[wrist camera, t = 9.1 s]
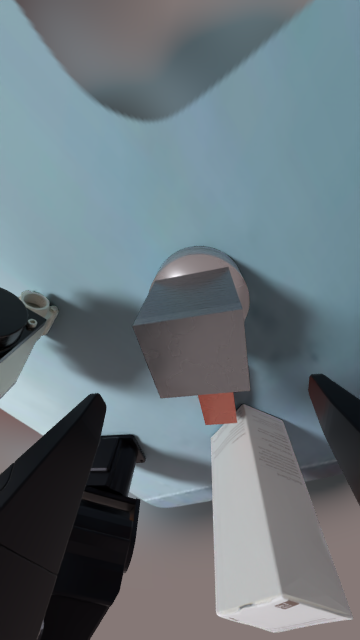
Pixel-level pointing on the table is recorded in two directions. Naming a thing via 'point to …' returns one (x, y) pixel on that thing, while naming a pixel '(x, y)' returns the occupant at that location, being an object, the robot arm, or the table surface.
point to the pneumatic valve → (21, 331)
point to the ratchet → (208, 258)
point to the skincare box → (268, 532)
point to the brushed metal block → (194, 335)
